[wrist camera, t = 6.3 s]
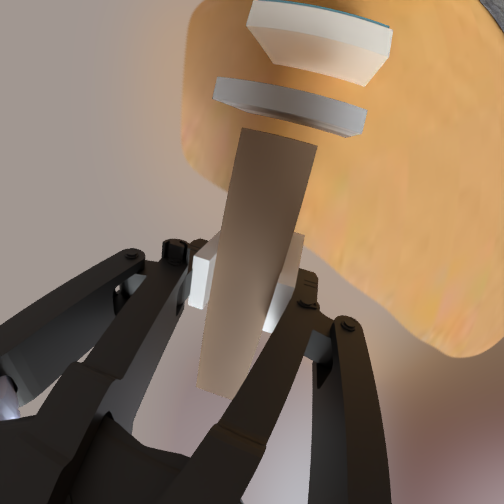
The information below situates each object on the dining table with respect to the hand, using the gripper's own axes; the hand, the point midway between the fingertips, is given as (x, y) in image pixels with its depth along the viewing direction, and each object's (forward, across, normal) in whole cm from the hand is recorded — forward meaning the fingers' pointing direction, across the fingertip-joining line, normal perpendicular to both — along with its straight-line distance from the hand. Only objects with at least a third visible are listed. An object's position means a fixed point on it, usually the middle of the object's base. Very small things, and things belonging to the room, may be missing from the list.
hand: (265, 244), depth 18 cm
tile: (+8, 0, +14) cm, 16 cm away
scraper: (0, 0, 0) cm, 0 cm away
